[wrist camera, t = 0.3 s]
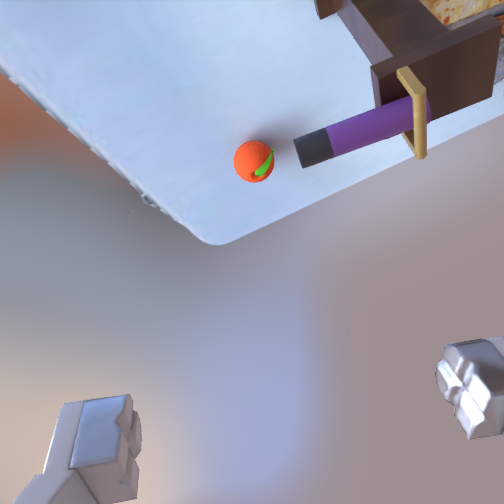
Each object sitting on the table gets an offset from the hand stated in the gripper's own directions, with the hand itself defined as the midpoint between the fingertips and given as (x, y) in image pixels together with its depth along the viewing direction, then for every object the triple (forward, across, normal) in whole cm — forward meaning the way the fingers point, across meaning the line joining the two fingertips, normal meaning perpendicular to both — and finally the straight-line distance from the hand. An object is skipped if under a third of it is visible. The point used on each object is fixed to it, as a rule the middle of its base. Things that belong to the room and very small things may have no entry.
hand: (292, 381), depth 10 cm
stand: (+52, -19, -7) cm, 56 cm away
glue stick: (+28, -12, +3) cm, 31 cm away
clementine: (+60, -7, +17) cm, 63 cm away
